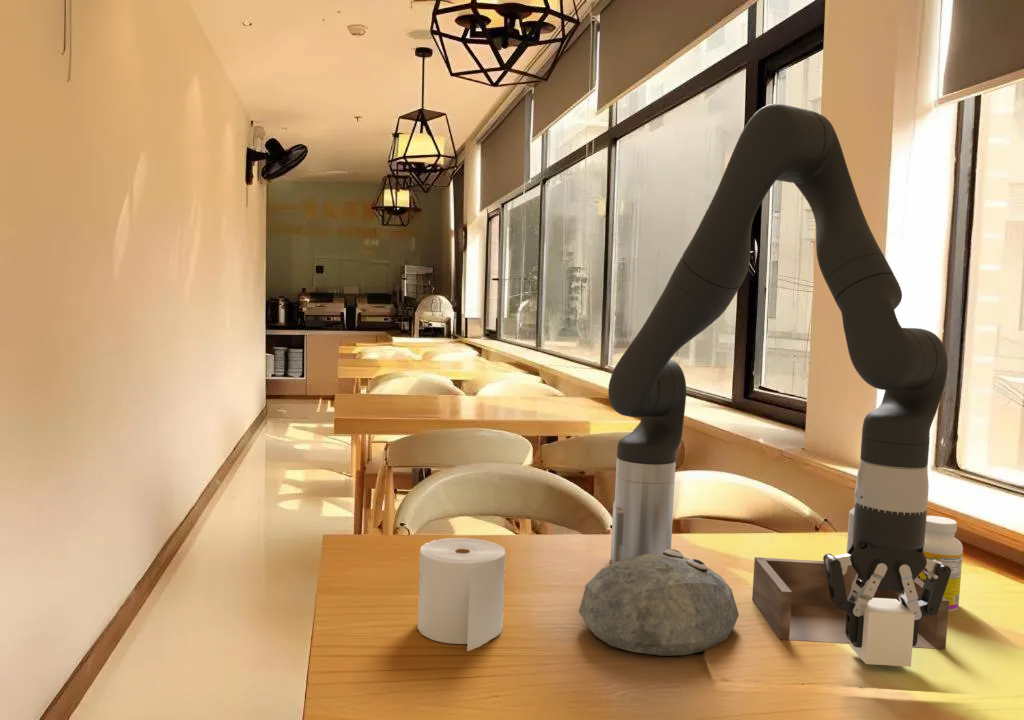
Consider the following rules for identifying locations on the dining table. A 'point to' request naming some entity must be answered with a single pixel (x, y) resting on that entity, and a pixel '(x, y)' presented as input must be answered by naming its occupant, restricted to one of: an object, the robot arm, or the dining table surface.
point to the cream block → (886, 633)
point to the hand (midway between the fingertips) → (880, 645)
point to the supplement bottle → (944, 554)
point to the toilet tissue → (461, 591)
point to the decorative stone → (659, 605)
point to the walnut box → (822, 603)
